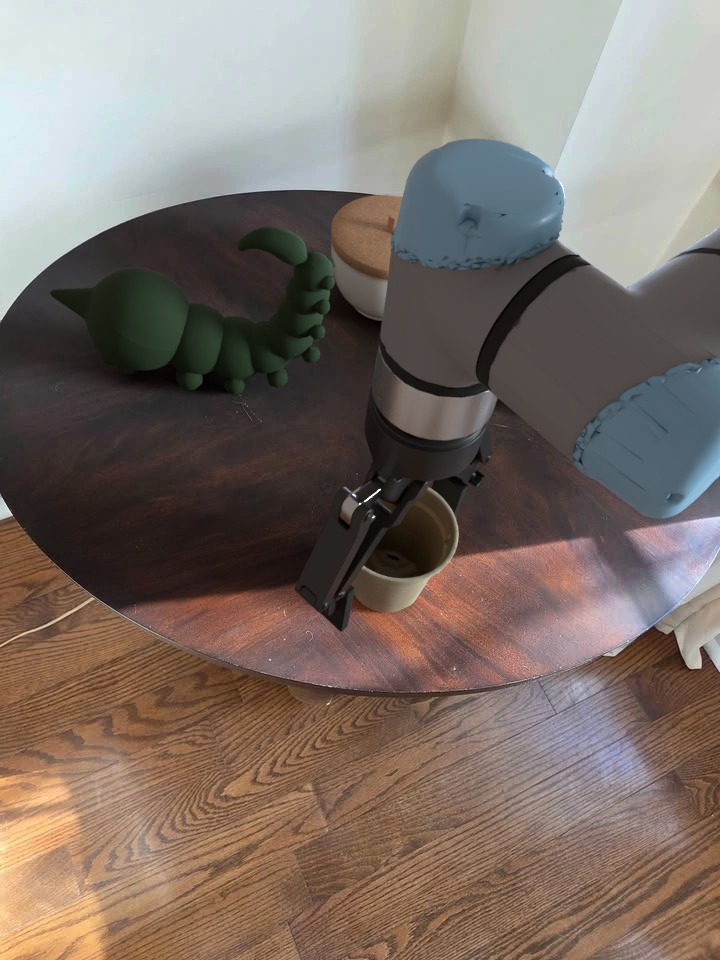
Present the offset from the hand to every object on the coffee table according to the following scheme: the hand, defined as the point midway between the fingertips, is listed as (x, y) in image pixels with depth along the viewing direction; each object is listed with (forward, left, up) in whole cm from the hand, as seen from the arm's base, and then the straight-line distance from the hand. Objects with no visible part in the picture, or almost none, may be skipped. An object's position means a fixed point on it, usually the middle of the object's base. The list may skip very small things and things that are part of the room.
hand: (387, 567), depth 65 cm
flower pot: (0, 0, -2) cm, 2 cm away
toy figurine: (+29, -4, -2) cm, 29 cm away
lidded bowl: (+24, -26, -2) cm, 35 cm away
